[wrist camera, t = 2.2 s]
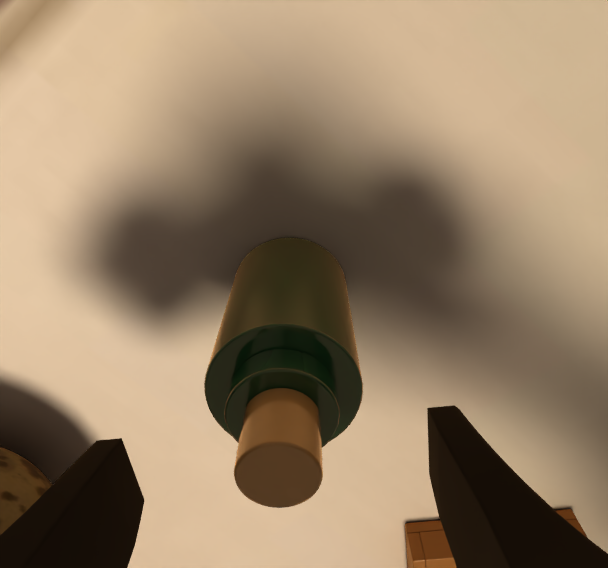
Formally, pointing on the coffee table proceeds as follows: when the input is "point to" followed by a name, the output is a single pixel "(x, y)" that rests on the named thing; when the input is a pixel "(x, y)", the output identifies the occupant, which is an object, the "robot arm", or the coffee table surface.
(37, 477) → the decorative egg
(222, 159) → the coffee table surface
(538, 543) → the robot arm
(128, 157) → the coffee table surface
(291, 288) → the green bottle
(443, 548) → the tray
